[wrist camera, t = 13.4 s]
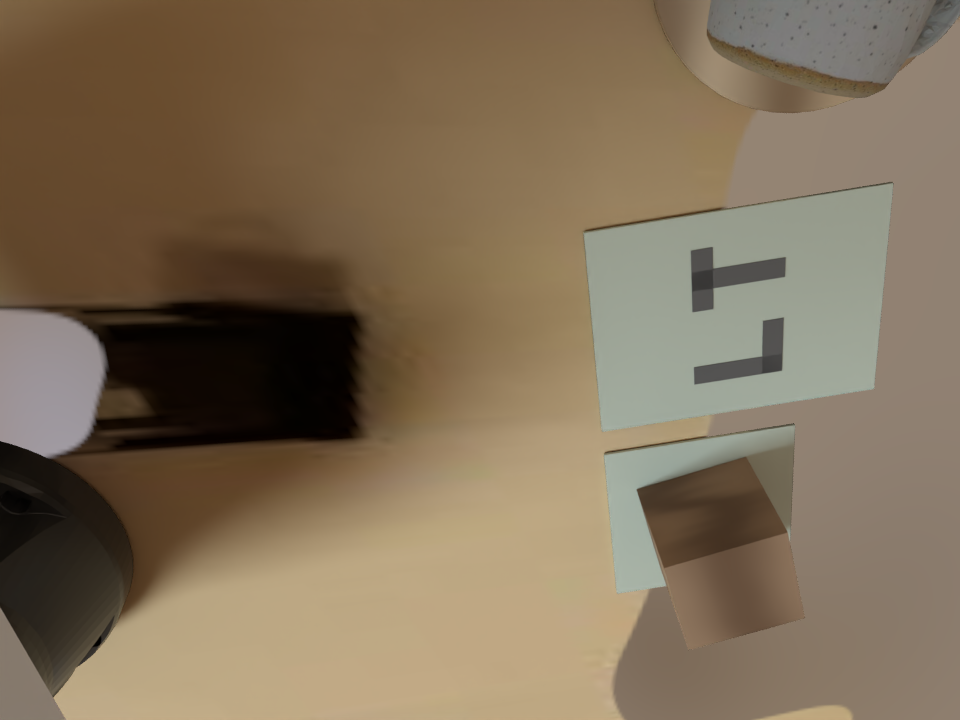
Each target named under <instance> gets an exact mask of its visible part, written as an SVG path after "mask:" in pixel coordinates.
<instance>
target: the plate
mask: <svg viewBox="0 0 960 720" xmlns="http://www.w3.org/2000/svg"><path fill="white" fill-rule="evenodd" d="M794 440H795V424H794V423H793V424H787V425H781V426H774V427H768V428H762V429H756V430H749V431H743V432H736V433H730V434H724V435H717V436H711V437H705V438H698V439H692V440H686V441H679V442H673V443H667V444H660V445H654V446H647V447H641V448H635V449H628V450H622V451H616V452H609V453H604V460H605V471H606V482H607V492H608V503H609V514H610V525H611V536H612V547H613V557H614V568H615V579H616V590H617V594H618V593H624V592H631V591H637V590H644V589H650V588H656V587H663V586H666V583H665V580H664V577H663V574H662V571H661V568H660V565H659V562H658V559H657V555H656V552H655V549H654V546H653V542H652V539H651V536H650V533H649V529H648V526H647V523H646V519H645V516H644V513H643V510H642V506H641V503H640V500H639V497H638V493H637V489H640V488H643V487H647V486H650V485H653V484H657V483H660V482H663V481H667V480H670V479H673V478H677V477H680V476H683V475H687V474H690V473H693V472H697V471H700V470H703V469H707V468H710V467H714V466H717V465H720V464H724V463H727V462H730V461H734V460H737V459H740V458H744V457H747V459H748V461H749V463H750V465H751V466H752V468H753V470H754V472H755V474H756V476H757V477H758V479H759V481H760V483H761V485H762V486H763V488H764V490H765V492H766V494H767V496H768V497H769V499H770V501H771V503H772V505H773V506H774V508H775V510H776V512H777V514H778V515H779V517H780V519H781V521H782V523H783V525H784V526H785V528H786V530H787V532H788V536H789V541H790V534H791V510H792V488H793V487H792V486H793V464H794Z"/></svg>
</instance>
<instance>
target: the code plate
mask: <svg viewBox="0 0 960 720" xmlns="http://www.w3.org/2000/svg"><path fill="white" fill-rule="evenodd" d="M892 195H893V182H888V183H882V184H876V185H870V186H863V187H857V188H851V189H845V190H839V191H833V192H826V193H821V194H814V195H809V196H802V197H796V198H790V199H783V200H777V201H771V202H765V203H758V204H752V205H746V206H740V207H734V208H727V209H721V210H715V211H709V212H703V213H696V214H690V215H684V216H678V217H672V218H665V219H659V220H653V221H647V222H641V223H635V224H628V225H622V226H616V227H610V228H604V229H597V230H591V231H585V232H584V243H585V254H586V265H587V276H588V287H589V297H590V308H591V319H592V330H593V341H594V352H595V362H596V373H597V384H598V395H599V406H600V417H601V427H602V432H604V431H610V430H617V429H623V428H629V427H636V426H642V425H648V424H655V423H661V422H667V421H674V420H680V419H686V418H693V417H699V416H705V415H712V414H718V413H724V412H730V411H737V410H743V409H749V408H756V407H762V406H769V405H775V404H781V403H788V402H794V401H800V400H807V399H813V398H819V397H826V396H832V395H838V394H845V393H851V392H857V391H864V390H870V389H874V384H875V373H876V363H877V352H878V342H879V331H880V321H881V310H882V300H883V290H884V279H885V268H886V258H887V248H888V237H889V226H890V216H891V205H892Z"/></svg>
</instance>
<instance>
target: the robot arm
mask: <svg viewBox="0 0 960 720" xmlns="http://www.w3.org/2000/svg"><path fill="white" fill-rule="evenodd" d="M132 575H133V559H132V552H131V547H130V544H129V541H128V538H127V535H126V533H125V531H124V529H123V527H122V525H121V523H120V521H119V520H118V518H117V516H116V515H115V513H114V512H113V511H112V509H111V508H110V507H109V505H108V504H107V503H106V502H105V501H104V500H103V498H102V497H101V496H100V495H99V494H98V493H97V492H96V491H95V490H93V489H92V488H91V487H90V486H89V485H88V484H87V483H85V482H84V481H83V480H82V479H80V478H79V477H78V476H76V475H75V474H73V473H72V472H70V471H69V470H67V469H66V468H64V467H62V466H61V465H59V464H57V463H55V462H53V461H52V460H50V459H48V458H45V457H43V456H41V455H39V454H37V453H34V452H32V451H29V450H27V449H23V448H21V447H18V446H15V445H12V444H8V443H4V442H1V441H0V720H66V719H65V717H64V716H63V714H62V712H61V711H60V709H59V707H58V705H57V704H56V702H55V700H54V699H53V697H54V696H55V695H56V694H57V693H58V692H59V690H60V689H61V688H62V687H63V686H64V684H65V683H66V682H67V681H68V679H69V678H70V677H71V675H72V674H73V672H74V670H75V668H76V667H78V666H79V665H81V664H82V663H83V662H85V661H86V660H87V659H88V658H90V657H91V656H92V655H93V654H94V653H95V652H96V651H97V650H98V649H99V647H100V646H101V645H102V644H103V643H104V642H105V640H106V639H107V638H108V636H109V635H110V633H111V631H112V630H113V628H114V626H115V625H116V623H117V620H118V618H119V616H120V613H121V610H122V608H123V605H124V603H125V600H126V598H127V595H128V592H129V589H130V586H131V582H132Z"/></svg>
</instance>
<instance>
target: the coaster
mask: <svg viewBox="0 0 960 720" xmlns="http://www.w3.org/2000/svg"><path fill="white" fill-rule="evenodd" d="M710 3H711V0H654V5H655V9H656V13H657V16H658V18H659V21H660V24H661V26H662V29H663V31H664V34H665V35H666V37H667V39H668V41H669V43H670V45H671V46H672V48H673V50H674V52H675V53H676V54H677V55H678V57H679V58H680V59H681V61H682V62H683V63H684V65H685V66H686V67H687V68H688V69H689V70H690V71H691V72H692V73H693V74H694V75H695V76H696V77H697V78H698V79H699V80H700V81H702V82H703V83H704V84H706V85H707V86H708V87H710V88H711V89H712V90H714V91H715V92H717V93H718V94H720V95H721V96H723V97H725V98H727V99H729V100H731V101H733V102H735V103H738V104H741V105H744V106H747V107H750V108H753V109H757V110H763V111H769V112H777V113H798V112H809V111H815V110H819V109H824V108H828V107H832V106H836V105H838V104H841V103H844V102H847V101H850V100H852V99H854V98H850V97H843V96H836V95H830V94H825V93H819V92H815V91H812V90H809V89H805V88H801V87H798V86H794V85H790V84H787V83H784V82H781V81H778V80H774V79H772V78H769V77H766V76H764V75H761V74H758V73H756V72H753V71H750V70H748V69H745V68H743V67H741V66H739V65H737V64H735V63H733V62H731V61H729V60H727V59H726V58H724V57H722V56H721V55H719V54H718V53H717V52H716V51H715V50H714V49H713V48H712V46H711V44H710V42H709V40H708V37H707V22H708V16H709V10H710ZM915 57H916V56H914V57H911V58H908V59H906V61H905V62H904V64H903V65H902V66H901V68H900V69H899V71H900V70H901V69H902V68H904V67H905V66H906V65H908V64H909V63H910V62H911V61H912V60H913V59H914V58H915ZM899 71H898V72H899ZM898 72H897V73H898Z"/></svg>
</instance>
